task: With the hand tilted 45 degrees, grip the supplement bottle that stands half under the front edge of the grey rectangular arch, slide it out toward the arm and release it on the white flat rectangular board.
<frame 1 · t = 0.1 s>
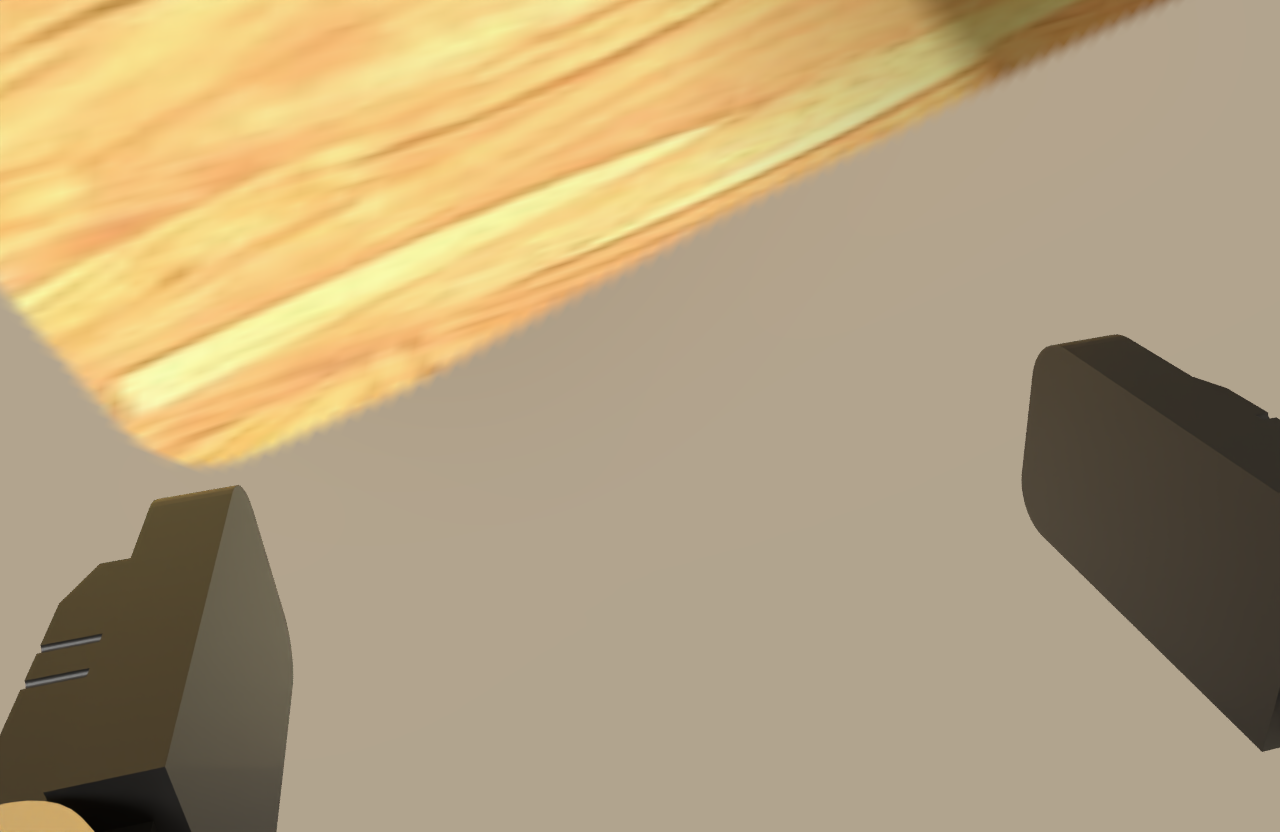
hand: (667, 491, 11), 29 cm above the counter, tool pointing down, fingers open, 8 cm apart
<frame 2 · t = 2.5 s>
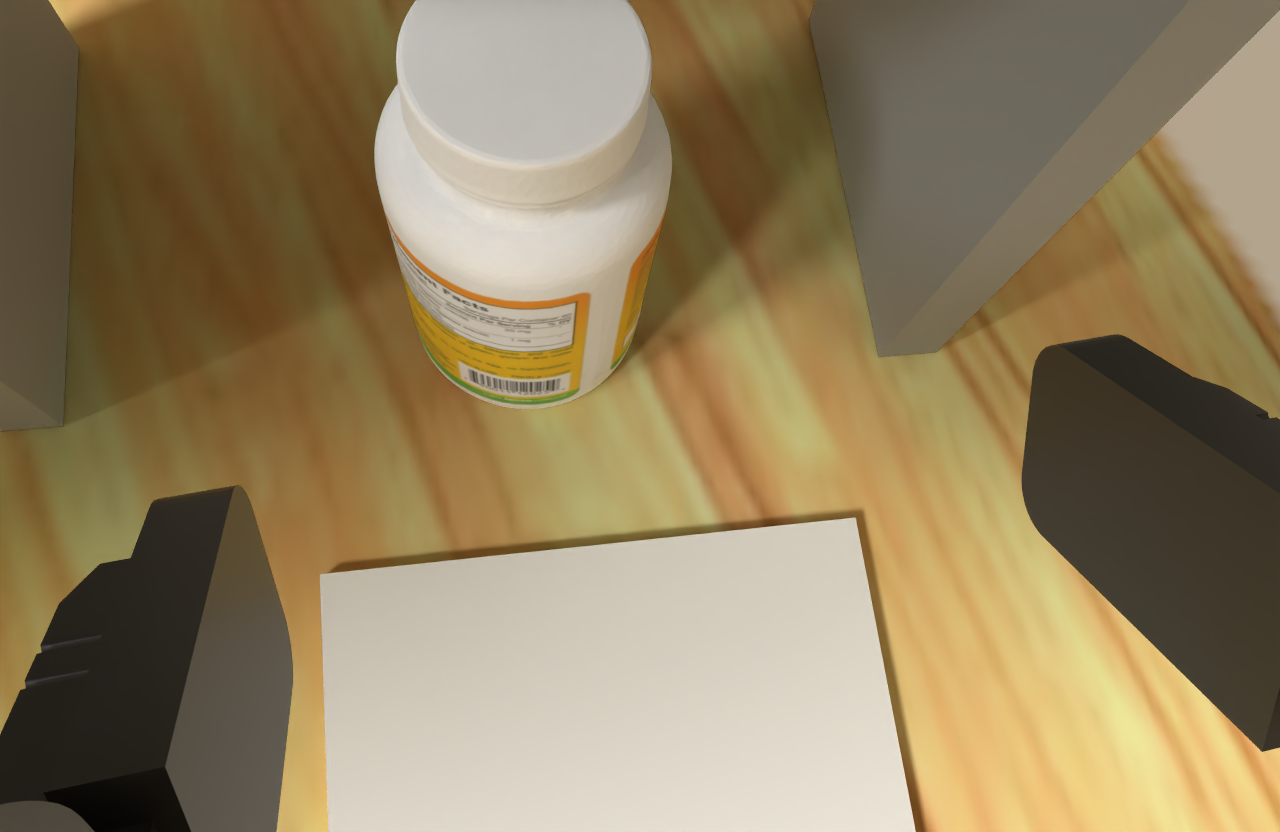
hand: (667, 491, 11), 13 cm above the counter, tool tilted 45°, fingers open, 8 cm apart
grey rectangular arch: (475, 201, 26), on the counter
white flat rectangular board: (622, 780, 22), on the counter
supplement bottle: (526, 312, 25), on the counter
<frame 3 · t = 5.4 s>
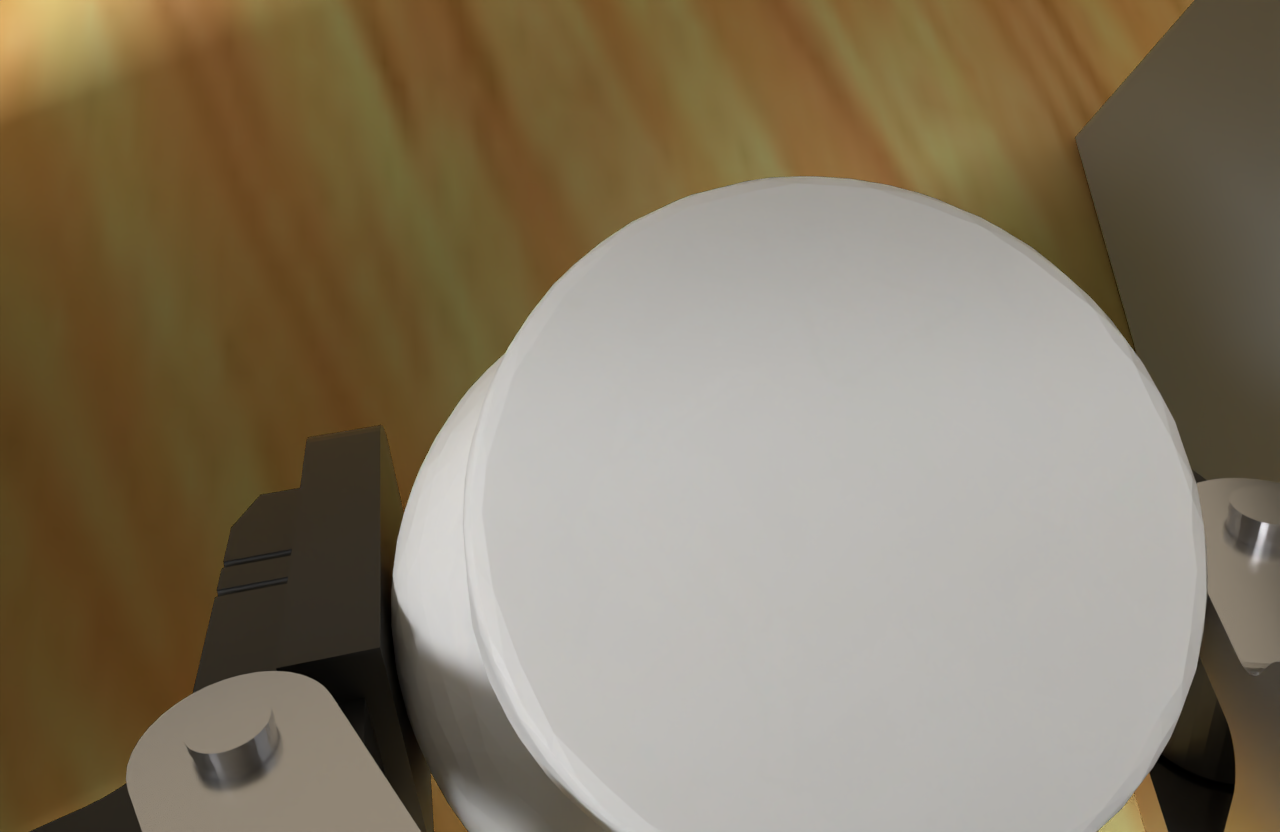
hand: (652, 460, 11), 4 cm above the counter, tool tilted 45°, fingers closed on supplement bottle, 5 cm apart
grey rectangular arch: (555, 465, 15), on the counter
supplement bottle: (646, 666, 15), on the counter, touching gripper
when the fingers open (6 cm above the counter, at t = 9.7 s): supplement bottle stays where it is, resting on white flat rectangular board.
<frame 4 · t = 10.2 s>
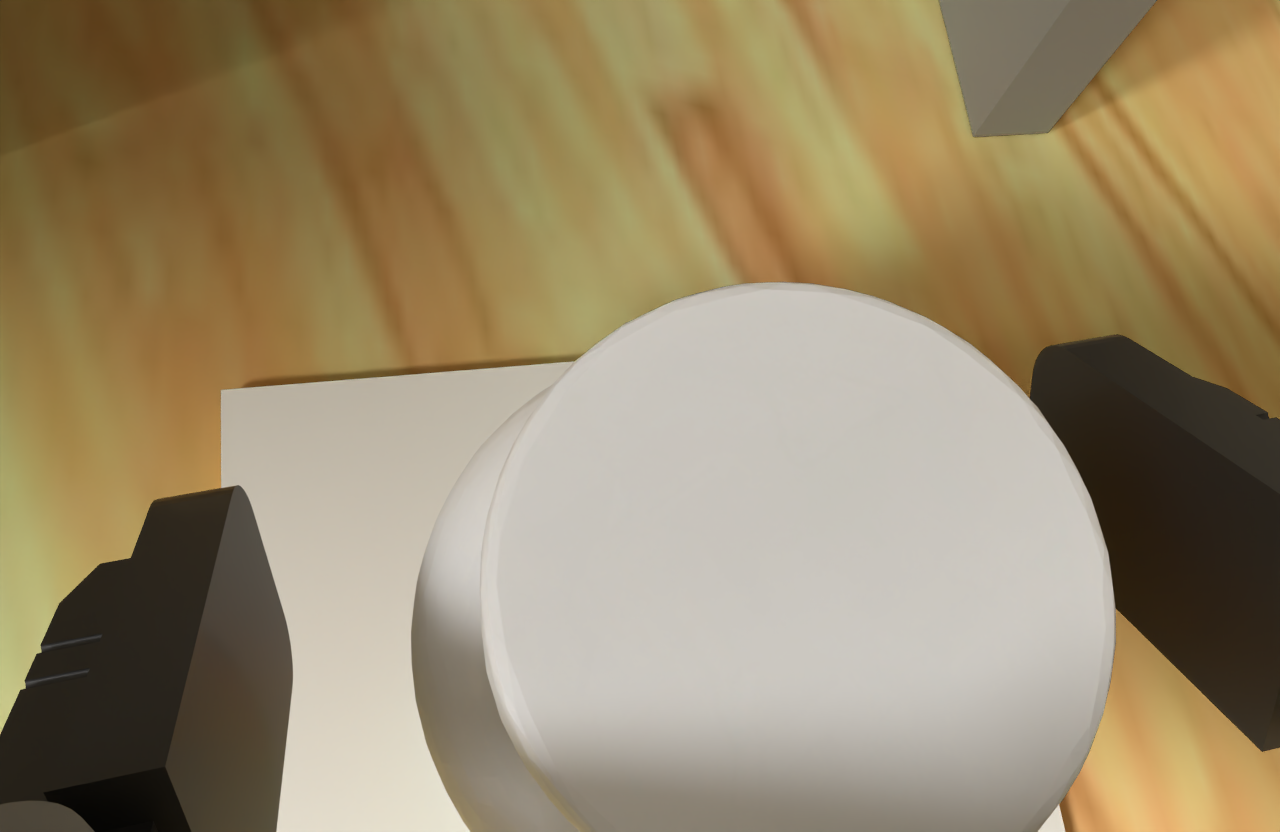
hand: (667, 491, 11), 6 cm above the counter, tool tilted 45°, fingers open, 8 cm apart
white flat rectangular board: (637, 672, 16), on the counter
supplement bottle: (642, 683, 16), resting on white flat rectangular board
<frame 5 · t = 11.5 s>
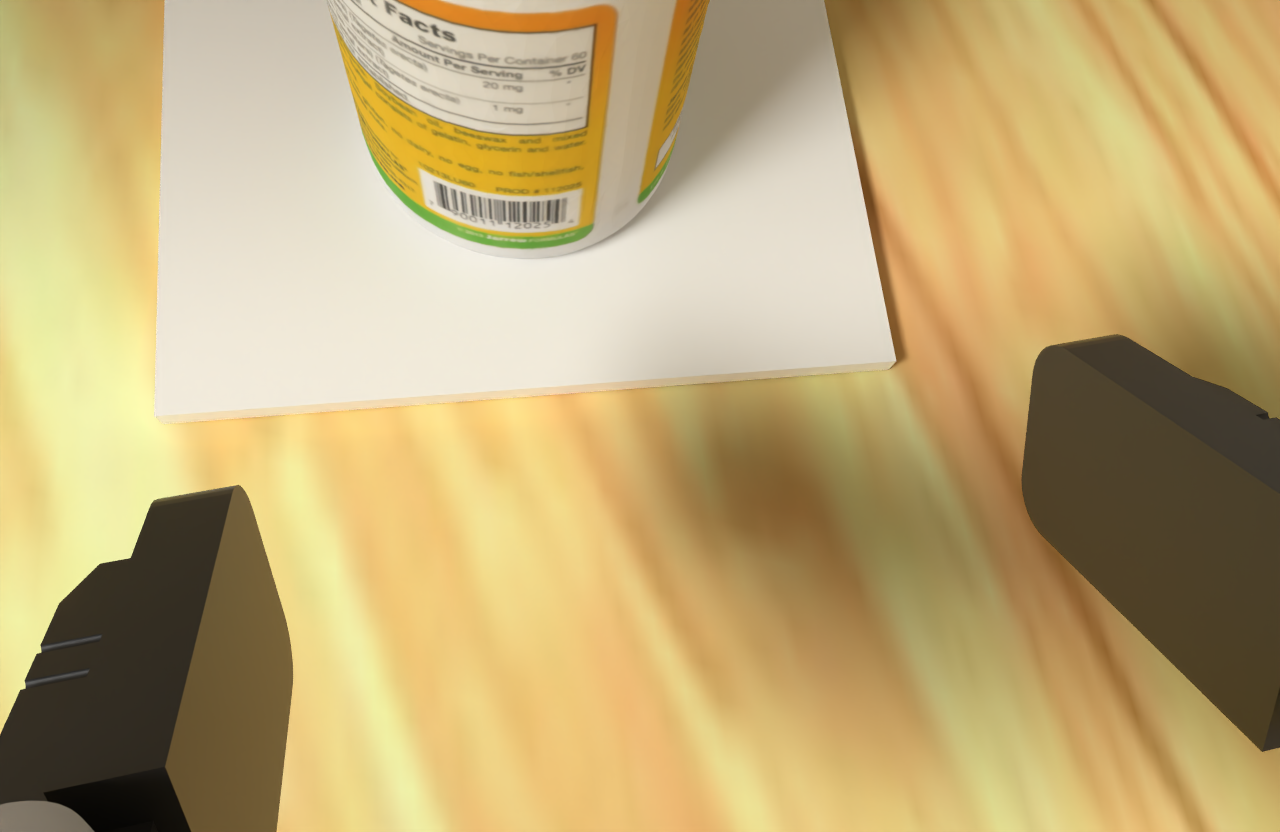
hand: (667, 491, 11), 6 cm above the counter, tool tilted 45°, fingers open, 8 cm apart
white flat rectangular board: (518, 133, 19), on the counter
supplement bottle: (521, 135, 19), resting on white flat rectangular board
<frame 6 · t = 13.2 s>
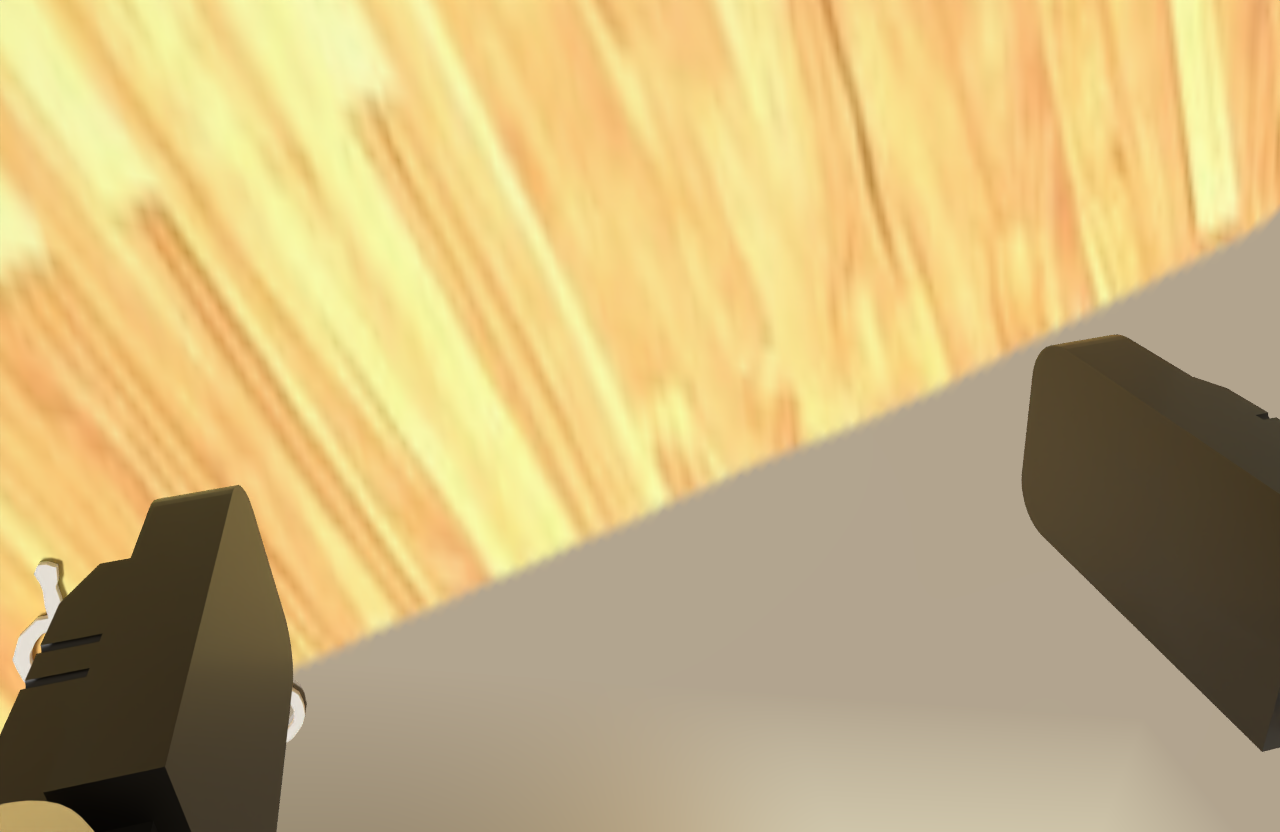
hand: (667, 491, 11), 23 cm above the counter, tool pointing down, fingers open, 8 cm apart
scissors: (88, 797, 40), on the counter
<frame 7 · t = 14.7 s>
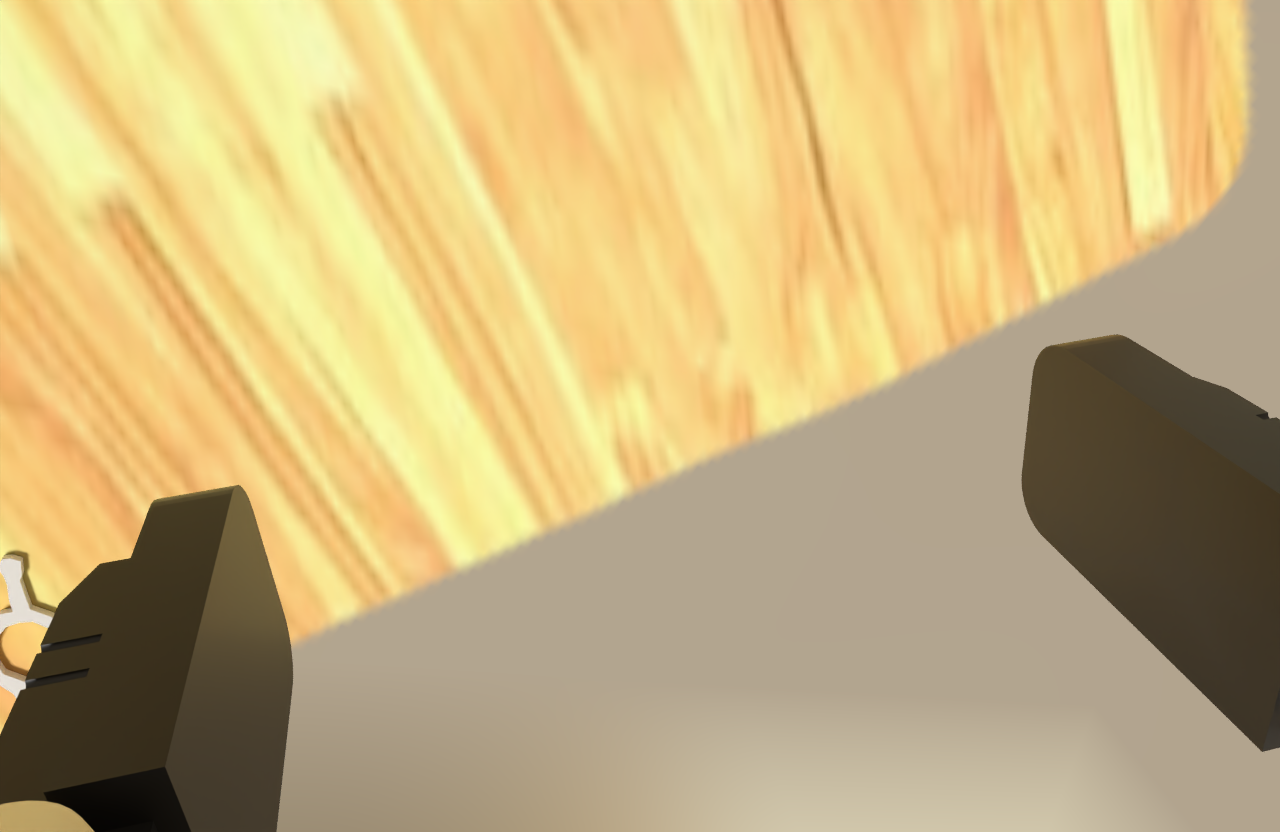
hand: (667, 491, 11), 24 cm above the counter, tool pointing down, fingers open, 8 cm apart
scissors: (51, 789, 40), on the counter
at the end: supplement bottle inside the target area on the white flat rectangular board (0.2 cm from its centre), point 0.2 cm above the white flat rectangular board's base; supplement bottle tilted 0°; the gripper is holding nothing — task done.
